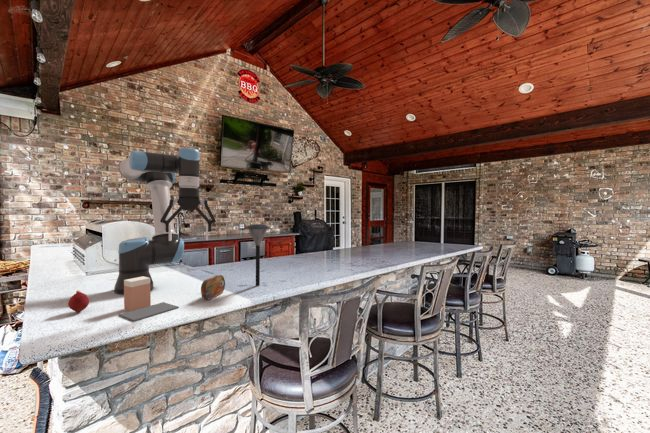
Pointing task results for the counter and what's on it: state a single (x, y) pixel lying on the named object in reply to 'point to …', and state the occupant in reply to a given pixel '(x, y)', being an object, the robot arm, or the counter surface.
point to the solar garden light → (257, 244)
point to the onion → (78, 302)
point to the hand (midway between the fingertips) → (188, 240)
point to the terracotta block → (137, 293)
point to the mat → (148, 311)
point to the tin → (212, 287)
